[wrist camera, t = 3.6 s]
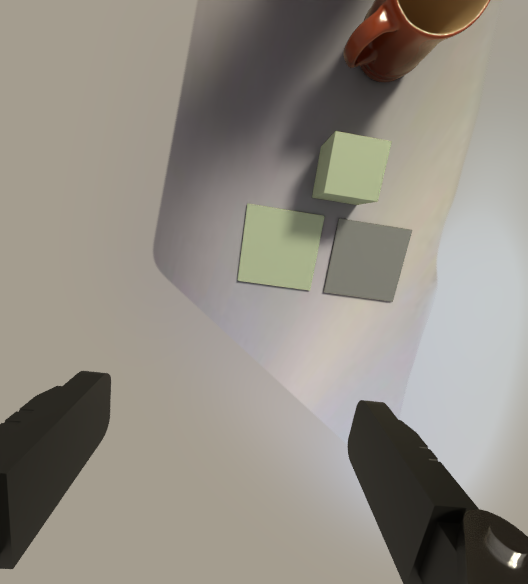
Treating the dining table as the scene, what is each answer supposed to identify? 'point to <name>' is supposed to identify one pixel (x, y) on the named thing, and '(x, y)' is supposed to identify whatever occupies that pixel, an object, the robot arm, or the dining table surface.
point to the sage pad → (279, 247)
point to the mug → (406, 33)
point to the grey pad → (366, 260)
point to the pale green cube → (351, 168)
